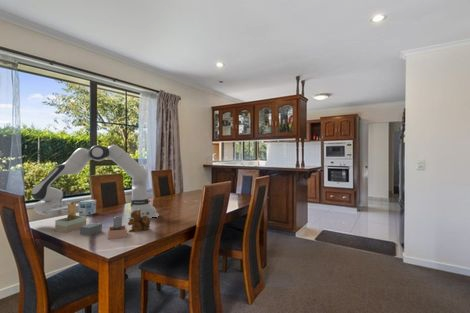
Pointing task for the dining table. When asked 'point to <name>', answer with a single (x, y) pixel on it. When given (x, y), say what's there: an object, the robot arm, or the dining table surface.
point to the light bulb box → (87, 207)
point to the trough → (69, 224)
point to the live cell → (71, 212)
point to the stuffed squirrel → (139, 222)
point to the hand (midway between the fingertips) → (72, 211)
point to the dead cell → (117, 223)
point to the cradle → (91, 228)
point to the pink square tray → (117, 232)
